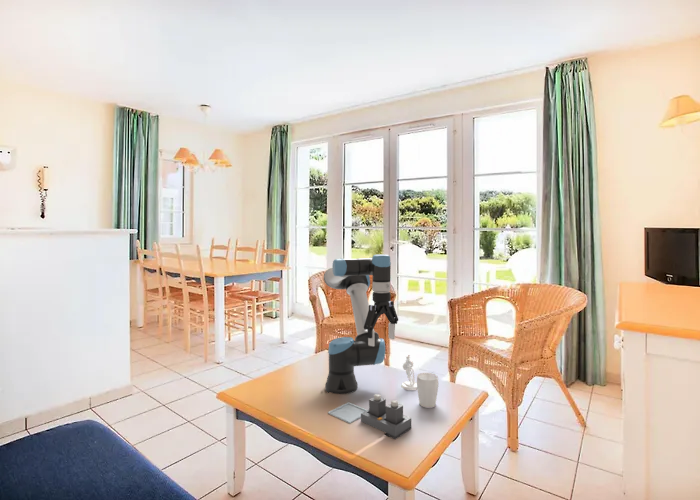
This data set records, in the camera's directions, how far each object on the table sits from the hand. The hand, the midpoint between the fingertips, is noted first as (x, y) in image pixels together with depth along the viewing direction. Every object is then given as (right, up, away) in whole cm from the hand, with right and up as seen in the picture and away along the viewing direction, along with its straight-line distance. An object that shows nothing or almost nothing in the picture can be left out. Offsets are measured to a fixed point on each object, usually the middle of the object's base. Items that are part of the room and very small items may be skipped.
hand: (381, 342), depth 157 cm
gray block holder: (0, -27, -17) cm, 32 cm away
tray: (-14, -27, -8) cm, 31 cm away
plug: (+3, -27, -19) cm, 33 cm away
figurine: (+15, -26, +20) cm, 36 cm away
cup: (+19, -27, +1) cm, 33 cm away
